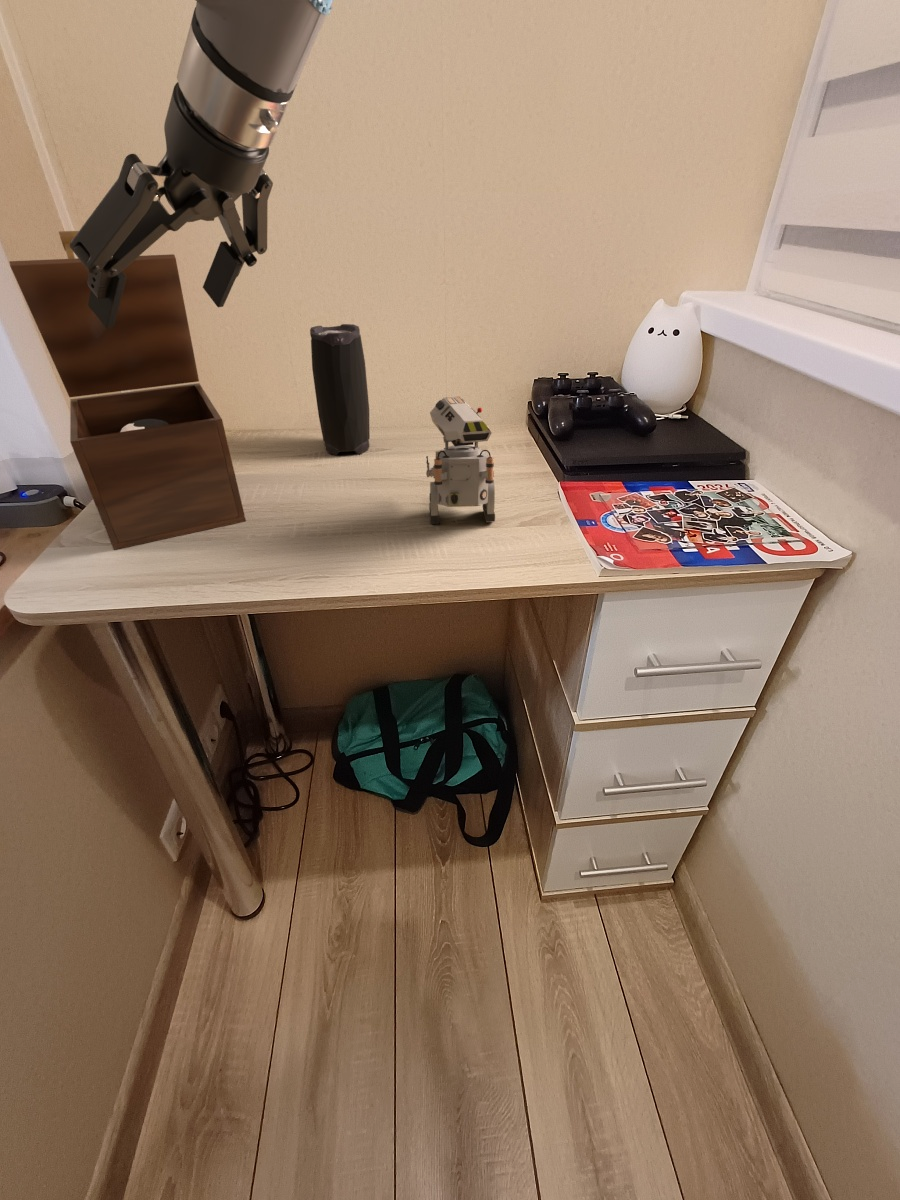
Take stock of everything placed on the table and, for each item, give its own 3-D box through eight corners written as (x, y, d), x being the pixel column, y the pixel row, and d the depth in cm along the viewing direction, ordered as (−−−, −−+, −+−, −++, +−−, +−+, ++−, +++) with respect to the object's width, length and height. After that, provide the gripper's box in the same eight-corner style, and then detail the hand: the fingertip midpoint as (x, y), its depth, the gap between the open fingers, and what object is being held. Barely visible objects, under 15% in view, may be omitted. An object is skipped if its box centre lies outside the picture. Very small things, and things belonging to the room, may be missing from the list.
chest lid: (175, 258, 67) (158, 212, 70) (9, 265, 61) (-2, 215, 64) (199, 381, 83) (184, 340, 86) (69, 397, 76) (57, 352, 80)
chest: (246, 521, 79) (222, 418, 71) (113, 550, 73) (70, 441, 64) (222, 474, 92) (199, 382, 83) (107, 496, 85) (70, 399, 77)
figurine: (486, 492, 87) (490, 392, 78) (496, 529, 78) (502, 420, 69) (426, 494, 86) (424, 393, 77) (429, 531, 77) (426, 421, 68)
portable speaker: (366, 436, 106) (356, 320, 94) (376, 455, 98) (367, 332, 87) (319, 441, 103) (304, 323, 92) (326, 461, 96) (310, 336, 85)
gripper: (111, 150, 37) (70, 360, 53) (354, 160, 55) (270, 316, 70) (32, 45, 36) (13, 290, 52) (305, 90, 54) (230, 263, 69)
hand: (161, 306), depth 61 cm, fingers open, 13 cm apart
